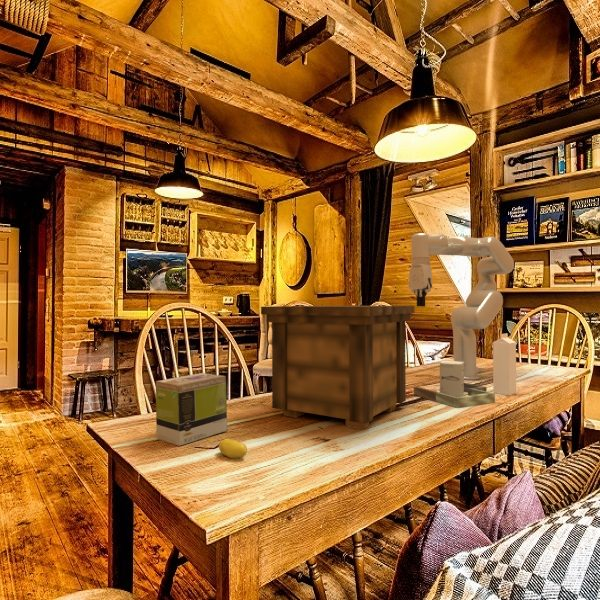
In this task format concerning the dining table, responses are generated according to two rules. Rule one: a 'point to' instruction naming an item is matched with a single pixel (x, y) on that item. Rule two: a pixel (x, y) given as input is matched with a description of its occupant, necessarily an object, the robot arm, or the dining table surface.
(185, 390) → the tea box
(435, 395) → the grey-green angular frame
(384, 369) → the crate
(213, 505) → the dining table surface
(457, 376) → the supplement box
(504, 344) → the milk
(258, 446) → the dining table surface
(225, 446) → the lemon
